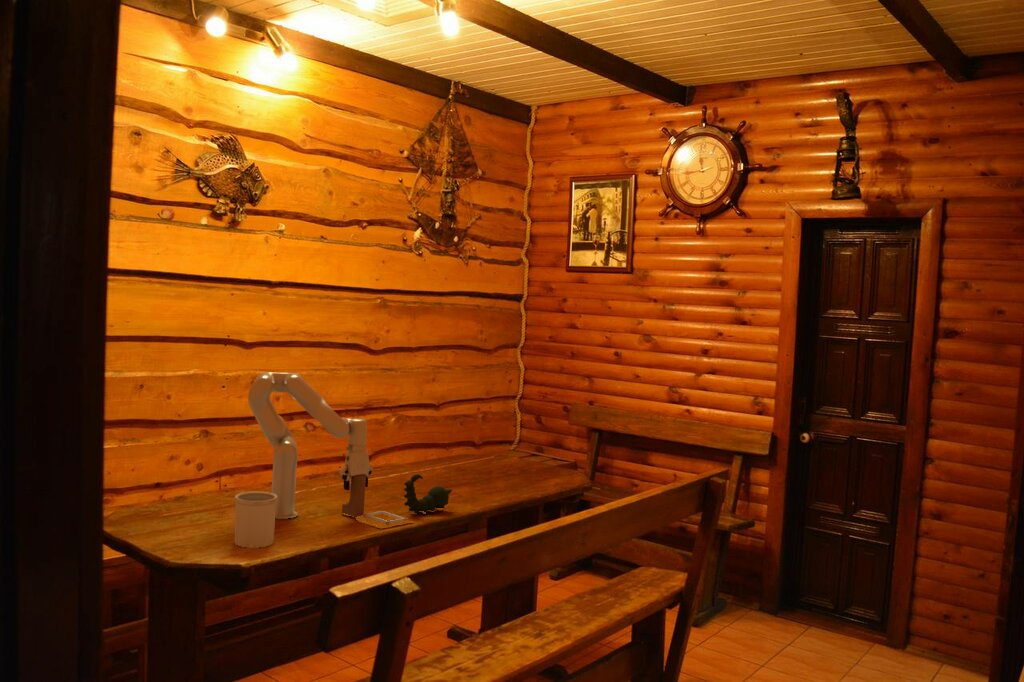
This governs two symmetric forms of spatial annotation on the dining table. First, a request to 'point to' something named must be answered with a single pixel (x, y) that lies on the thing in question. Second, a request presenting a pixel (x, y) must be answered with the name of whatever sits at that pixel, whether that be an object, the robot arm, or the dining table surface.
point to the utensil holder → (255, 519)
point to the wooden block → (356, 497)
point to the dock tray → (373, 514)
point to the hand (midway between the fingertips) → (355, 488)
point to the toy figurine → (425, 497)
